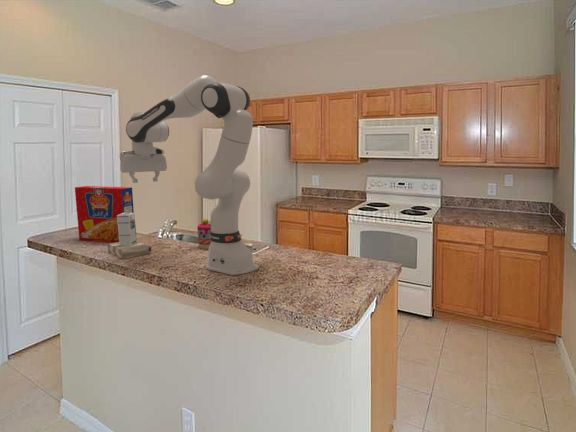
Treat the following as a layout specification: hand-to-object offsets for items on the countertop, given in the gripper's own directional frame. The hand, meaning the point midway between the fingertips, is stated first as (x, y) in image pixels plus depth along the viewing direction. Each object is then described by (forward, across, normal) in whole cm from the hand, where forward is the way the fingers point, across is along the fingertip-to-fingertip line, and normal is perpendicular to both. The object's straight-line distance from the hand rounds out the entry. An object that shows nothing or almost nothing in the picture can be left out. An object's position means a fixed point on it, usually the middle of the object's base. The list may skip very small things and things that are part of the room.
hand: (145, 182), depth 172 cm
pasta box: (+31, -4, +40) cm, 51 cm away
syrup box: (+29, -7, +8) cm, 30 cm away
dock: (+32, -7, +8) cm, 34 cm away
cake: (+34, +26, -8) cm, 43 cm away
